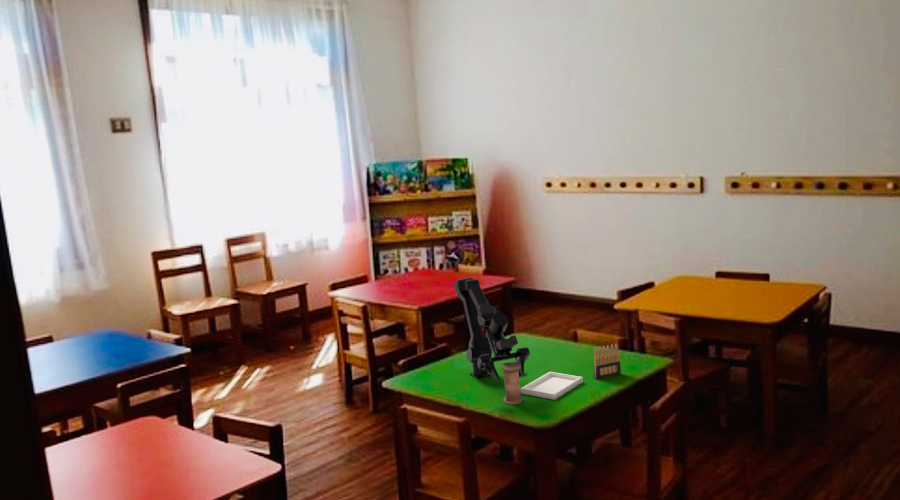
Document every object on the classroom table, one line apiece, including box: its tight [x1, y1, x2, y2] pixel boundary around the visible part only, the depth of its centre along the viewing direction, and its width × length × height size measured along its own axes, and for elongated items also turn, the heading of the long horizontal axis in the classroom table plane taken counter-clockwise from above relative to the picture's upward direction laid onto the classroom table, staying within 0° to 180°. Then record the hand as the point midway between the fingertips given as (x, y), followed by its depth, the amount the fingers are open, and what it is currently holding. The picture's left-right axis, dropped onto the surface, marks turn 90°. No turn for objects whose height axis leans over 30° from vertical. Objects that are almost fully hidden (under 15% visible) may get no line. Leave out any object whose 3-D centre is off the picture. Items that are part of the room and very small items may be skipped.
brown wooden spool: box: [500, 361, 524, 406], centre depth 250 cm, size 7×7×13 cm
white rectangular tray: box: [520, 371, 584, 401], centre depth 261 cm, size 20×14×2 cm
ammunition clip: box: [593, 342, 622, 380], centre depth 267 cm, size 11×2×12 cm, turn 111°
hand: (511, 378), depth 250 cm, fingers open, 9 cm apart
